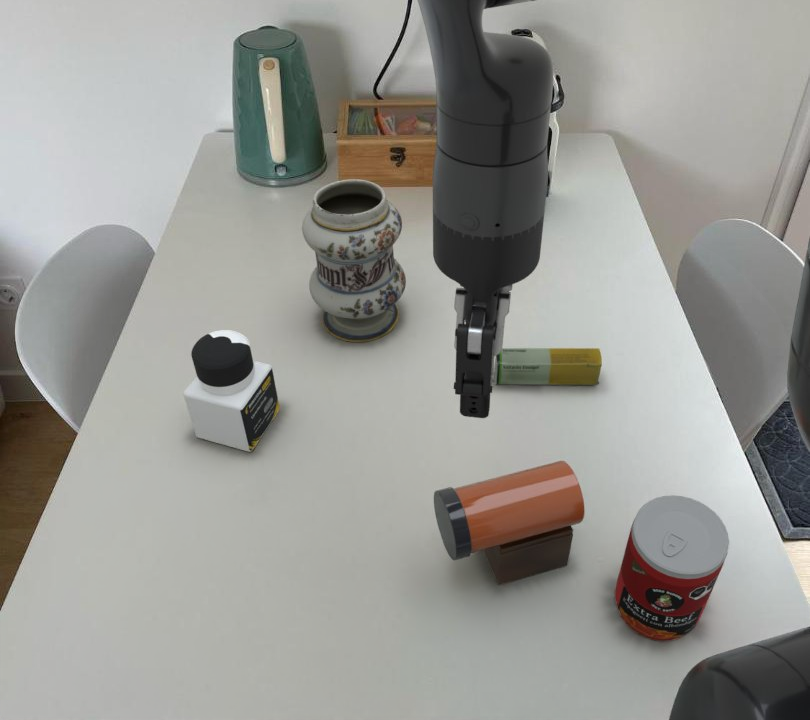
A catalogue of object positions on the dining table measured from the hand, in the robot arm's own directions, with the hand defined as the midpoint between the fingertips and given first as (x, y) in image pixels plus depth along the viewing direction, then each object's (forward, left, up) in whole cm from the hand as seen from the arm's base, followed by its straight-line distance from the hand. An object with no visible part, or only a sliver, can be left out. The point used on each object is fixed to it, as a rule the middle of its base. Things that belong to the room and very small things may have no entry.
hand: (480, 376), depth 65 cm
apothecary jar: (+33, +14, -22) cm, 42 cm away
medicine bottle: (+14, +26, -22) cm, 37 cm away
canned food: (-7, -17, -22) cm, 28 cm away
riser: (-2, -5, -22) cm, 22 cm away
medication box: (+22, -9, -22) cm, 32 cm away
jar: (-3, -3, -17) cm, 17 cm away
